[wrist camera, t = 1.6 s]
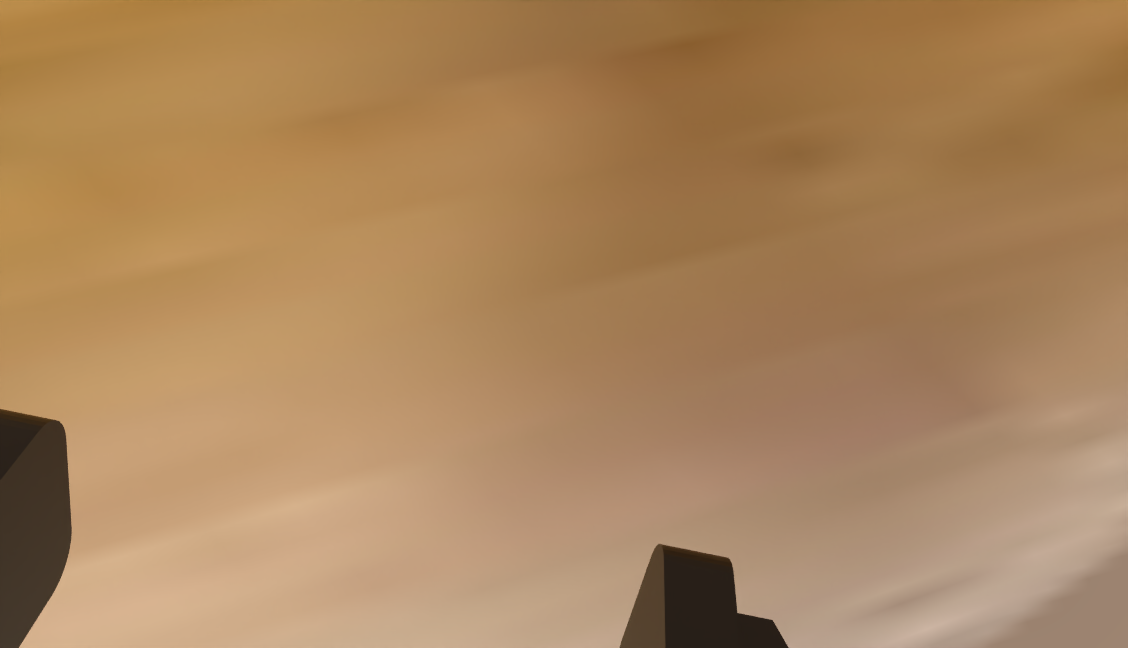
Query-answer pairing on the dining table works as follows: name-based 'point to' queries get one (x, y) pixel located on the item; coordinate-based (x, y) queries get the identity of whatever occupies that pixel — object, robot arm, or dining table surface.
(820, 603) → the dining table surface
